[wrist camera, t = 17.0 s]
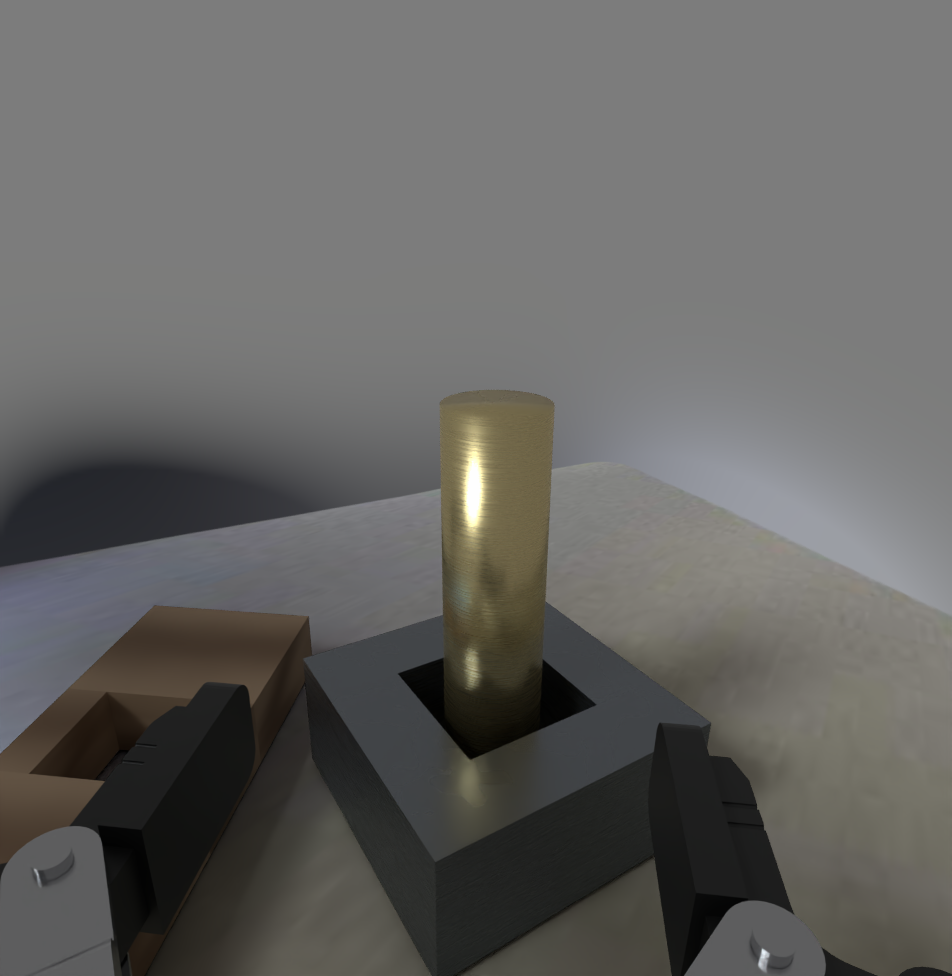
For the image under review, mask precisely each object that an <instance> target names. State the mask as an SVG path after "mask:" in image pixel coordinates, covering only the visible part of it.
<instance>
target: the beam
mask: <svg viewBox="0 0 952 976" xmlns="http://www.w3.org/2000/svg"><path fill="white" fill-rule="evenodd" d="M310 656H312V650H311V639H310V628H309V616H296V615H282V614H268V613H254V612H239V611H225V610H211V609H197V608H183V607H168V606H154V607H153V608H152V609H150V610H149V611H148V612H147V613H146V614H145V615H144V616H143V617H142V618H141V619H140V620H139V621H138V622H137V623H136V624H135V625H134V626H133V627H132V628H131V629H130V630H129V631H128V632H127V633H126V634H124V635H123V636H122V637H121V638H120V639H119V640H118V641H117V642H116V643H115V644H114V645H113V646H112V647H111V648H110V649H109V650H108V651H107V652H106V653H105V654H104V655H103V656H102V657H101V658H99V659H98V660H97V661H96V662H95V663H94V664H93V665H92V666H91V667H90V668H89V669H88V670H87V671H86V672H85V673H84V674H83V675H82V676H81V677H80V678H79V679H78V680H77V681H76V682H75V683H73V684H72V685H71V686H70V687H69V688H68V689H67V690H66V691H65V692H64V693H63V694H62V695H61V696H60V697H59V698H58V699H57V700H56V701H55V702H54V703H53V704H52V705H51V706H50V707H49V708H47V709H46V710H45V711H44V712H43V713H42V714H41V715H40V716H39V717H38V718H37V719H36V720H35V721H34V722H33V723H32V724H31V725H30V726H29V727H28V728H27V729H26V730H25V731H24V732H23V733H21V734H20V735H19V736H18V737H17V738H16V739H15V740H14V741H13V742H12V743H11V744H10V745H9V746H8V747H7V748H6V749H5V750H4V751H3V752H2V753H1V754H0V864H3V863H7V862H9V860H10V859H11V858H12V857H13V855H14V854H15V853H16V852H17V851H18V850H19V849H21V848H22V847H23V846H24V845H26V844H27V843H28V842H30V841H32V840H33V839H35V838H36V837H38V836H40V835H42V834H44V833H47V832H49V831H52V830H55V829H58V828H63V827H69V826H70V824H71V823H72V822H73V821H74V819H75V818H76V817H77V816H78V814H79V813H80V812H81V811H82V809H83V808H84V807H85V806H86V804H87V803H88V802H89V801H90V799H91V798H92V797H93V796H94V794H95V793H96V792H97V791H98V789H99V788H100V787H101V786H102V784H103V783H104V782H105V781H98V780H95V779H96V777H97V776H98V775H99V774H100V772H101V771H102V770H103V769H104V768H105V766H106V765H107V764H108V763H109V762H110V760H111V759H112V758H113V757H114V755H115V754H116V753H117V752H118V751H119V750H130V749H131V748H132V747H135V743H136V742H137V740H138V739H139V738H140V737H141V735H142V734H143V733H144V732H145V730H146V729H147V728H148V727H149V725H150V724H151V723H152V722H153V721H155V720H156V719H158V718H159V717H160V716H162V715H163V714H165V713H166V712H168V711H169V710H170V709H172V708H173V707H175V706H184V707H186V706H187V705H188V704H189V702H190V701H191V700H192V698H193V697H194V696H195V694H196V693H197V692H198V690H199V689H200V688H201V687H202V685H203V684H205V683H206V682H218V683H229V684H241V685H245V686H246V687H247V689H248V691H249V697H250V705H251V713H252V721H253V729H254V738H255V747H256V751H255V760H254V765H253V769H252V772H251V775H250V778H249V780H248V782H247V783H246V785H245V787H244V789H243V791H242V793H241V794H240V796H239V798H238V800H237V802H236V804H235V805H234V807H233V809H232V811H231V813H230V815H229V816H228V818H227V820H226V822H225V824H224V826H223V827H222V829H221V831H220V833H219V835H218V837H217V838H216V840H215V842H214V844H213V846H212V848H211V849H210V851H209V853H208V855H207V857H206V859H205V860H204V862H203V864H202V866H201V868H200V869H199V871H198V873H197V875H196V877H195V879H194V880H193V882H192V884H191V886H190V888H189V890H188V891H187V893H186V895H185V897H184V899H183V901H182V902H181V904H180V906H179V908H178V910H177V912H176V913H175V915H174V917H173V919H172V921H171V923H170V924H169V926H168V928H167V930H166V932H165V934H164V935H160V934H152V933H143V932H139V933H138V935H137V937H136V939H135V940H134V942H133V944H132V946H131V947H130V949H129V951H128V953H129V958H130V963H131V970H132V976H145V974H146V972H147V970H148V968H149V966H150V965H151V963H152V961H153V959H154V957H155V956H156V954H157V952H158V950H159V948H160V946H161V945H162V943H163V941H164V939H165V937H166V935H167V934H168V932H169V930H170V928H171V926H172V924H173V923H174V921H175V919H176V917H177V915H178V913H179V912H180V910H181V908H182V906H183V904H184V902H185V901H186V899H187V897H188V895H189V893H190V891H191V890H192V888H193V886H194V884H195V882H196V881H197V879H198V877H199V875H200V873H201V871H202V870H203V868H204V866H205V864H206V862H207V860H208V859H209V857H210V855H211V853H212V851H213V849H214V848H215V846H216V844H217V842H218V840H219V838H220V837H221V835H222V833H223V831H224V829H225V827H226V826H227V824H228V822H229V820H230V818H231V816H232V815H233V813H234V811H235V809H236V807H237V806H238V804H239V802H240V800H241V798H242V796H243V795H244V793H245V791H246V789H247V787H248V785H249V784H250V782H251V780H252V778H253V776H254V774H255V773H256V771H257V769H258V767H259V765H260V763H261V762H262V760H263V758H264V756H265V754H266V752H267V751H268V749H269V747H270V745H271V743H272V741H273V740H274V738H275V736H276V734H277V732H278V731H279V729H280V727H281V725H282V723H283V721H284V720H285V718H286V716H287V714H288V712H289V710H290V709H291V707H292V705H293V703H294V701H295V699H296V698H297V696H298V694H299V692H300V690H301V688H302V687H303V685H304V683H305V675H304V664H303V658H306V657H310Z"/></svg>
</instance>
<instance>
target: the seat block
mask: <svg viewBox="0 0 952 976" xmlns="http://www.w3.org/2000/svg"><path fill="white" fill-rule="evenodd" d="M303 664H304V675H305V685H306V696H307V707H308V718H309V728H310V739H311V750H312V758H313V760H314V762H315V764H316V766H317V768H318V769H319V771H320V773H321V775H322V777H323V778H324V780H325V782H326V784H327V786H328V788H329V789H330V791H331V793H332V795H333V797H334V799H335V800H336V802H337V804H338V806H339V808H340V809H341V811H342V813H343V815H344V817H345V819H346V820H347V822H348V824H349V826H350V828H351V829H352V831H353V833H354V835H355V837H356V839H357V840H358V842H359V844H360V846H361V848H362V850H363V851H364V853H365V855H366V857H367V859H368V860H369V862H370V864H371V866H372V868H373V870H374V871H375V873H376V875H377V877H378V879H379V880H380V882H381V884H382V886H383V888H384V890H385V891H386V893H387V895H388V897H389V899H390V901H391V902H392V904H393V906H394V908H395V910H396V911H397V913H398V915H399V917H400V919H401V921H402V922H403V924H404V926H405V928H406V930H407V931H408V933H409V935H410V937H411V939H412V941H413V942H414V944H415V946H416V948H417V950H418V951H419V953H420V955H421V957H422V959H423V961H424V962H425V964H426V966H427V968H428V970H429V972H430V973H431V975H432V976H453V975H455V974H456V973H458V972H460V971H461V970H463V969H465V968H466V967H468V966H470V965H471V964H473V963H475V962H476V961H478V960H480V959H481V958H483V957H484V956H486V955H488V954H489V953H491V952H493V951H494V950H496V949H498V948H499V947H501V946H503V945H504V944H506V943H508V942H509V941H511V940H513V939H514V938H516V937H518V936H519V935H521V934H523V933H524V932H526V931H528V930H529V929H531V928H532V927H534V926H536V925H537V924H539V923H541V922H542V921H544V920H546V919H547V918H549V917H551V916H552V915H554V914H556V913H557V912H559V911H561V910H562V909H564V908H566V907H567V906H569V905H571V904H572V903H574V902H576V901H577V900H579V899H581V898H582V897H584V896H585V895H587V894H589V893H590V892H592V891H594V890H595V889H597V888H599V887H600V886H602V885H604V884H605V883H607V882H609V881H610V880H612V879H614V878H615V877H617V876H619V875H620V874H622V873H624V872H625V871H627V870H629V869H630V868H632V867H633V866H635V865H637V864H638V863H640V862H642V861H643V860H645V859H647V858H648V857H650V856H652V855H653V854H654V850H653V843H652V836H651V830H650V823H649V812H648V792H649V782H650V774H651V767H652V760H653V753H654V746H655V739H656V732H657V727H658V724H659V723H660V722H661V723H673V724H684V725H696V726H700V727H701V729H702V732H703V735H704V739H705V743H706V746H707V744H708V738H709V732H710V726H711V722H709V721H708V720H706V719H705V718H704V717H702V716H701V715H700V714H698V713H697V712H696V711H694V710H693V709H691V708H690V707H689V706H687V705H686V704H685V703H683V702H682V701H681V700H679V699H678V698H676V697H675V696H674V695H672V694H671V693H670V692H668V691H667V690H666V689H664V688H663V687H661V686H660V685H659V684H657V683H656V682H655V681H653V680H652V679H651V678H649V677H648V676H646V675H645V674H644V673H642V672H641V671H640V670H638V669H637V668H636V667H634V666H633V665H631V664H630V663H629V662H627V661H626V660H625V659H623V658H622V657H621V656H619V655H618V654H616V653H615V652H614V651H612V650H611V649H610V648H608V647H607V646H606V645H604V644H603V643H601V642H600V641H599V640H597V639H596V638H595V637H593V636H592V635H591V634H589V633H588V632H586V631H585V630H584V629H582V628H581V627H580V626H578V625H577V624H576V623H574V622H573V621H571V620H570V619H569V618H567V617H566V616H565V615H563V614H562V613H561V612H559V611H558V610H556V609H555V608H554V607H552V606H551V605H550V604H548V603H547V602H546V601H545V619H544V640H543V662H542V683H541V704H540V726H539V730H538V731H536V732H534V733H531V734H529V735H527V736H525V737H522V738H520V739H518V740H515V741H513V742H511V743H509V744H506V745H504V746H502V747H499V748H497V749H495V750H492V751H490V752H488V753H486V754H483V755H481V756H479V757H476V758H474V759H472V760H469V759H468V758H467V756H466V755H465V754H464V753H463V752H462V750H461V749H460V748H459V747H458V746H457V744H456V743H455V742H454V741H453V740H452V738H451V737H450V736H449V735H448V734H447V732H446V731H445V718H444V651H443V615H442V616H439V617H435V618H432V619H429V620H426V621H423V622H419V623H416V624H413V625H410V626H406V627H403V628H400V629H397V630H394V631H390V632H387V633H384V634H381V635H377V636H374V637H371V638H368V639H364V640H361V641H358V642H355V643H352V644H348V645H345V646H342V647H339V648H335V649H332V650H329V651H326V652H323V653H319V654H316V655H313V656H310V657H306V658H303Z"/></svg>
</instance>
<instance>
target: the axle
mask: <svg viewBox="0 0 952 976" xmlns="http://www.w3.org/2000/svg"><path fill="white" fill-rule="evenodd" d="M553 426H554V403H553V401H551V400H550V399H548V398H546V397H543V396H540V395H537V394H532V393H527V392H520V391H509V390H479V391H469V392H463V393H458V394H454V395H451V396H448V397H446V398H444V399H443V400H442V401H441V402H440V447H441V448H440V450H441V518H442V584H443V651H444V718H445V731H446V732H447V734H448V735H449V736H450V737H451V738H452V740H453V741H454V742H455V743H456V744H457V746H458V747H459V748H460V749H461V750H462V752H463V753H464V754H465V755H466V756H467V758H468V759H469V760H472V759H474V758H476V757H479V756H481V755H483V754H486V753H488V752H490V751H492V750H495V749H497V748H499V747H502V746H504V745H506V744H509V743H511V742H513V741H515V740H518V739H520V738H522V737H525V736H527V735H529V734H531V733H534V732H536V731H538V730H539V726H540V704H541V683H542V662H543V640H544V619H545V598H546V577H547V555H548V534H549V513H550V491H551V470H552V449H553Z"/></svg>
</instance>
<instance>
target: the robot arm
mask: <svg viewBox="0 0 952 976" xmlns="http://www.w3.org/2000/svg"><path fill="white" fill-rule="evenodd" d="M255 751H256V747H255V738H254V729H253V721H252V713H251V705H250V697H249V691H248V689H247V687H246V686H245V685H241V684H229V683H218V682H206V683H205V684H203V685H202V687H201V688H200V689H199V690H198V692H197V693H196V694H195V696H194V697H193V698H192V700H191V701H190V702H189V704H188V705H187V706H186V707H184V706H175V707H173V708H172V709H170V710H169V711H168V712H166V713H165V714H163V715H162V716H160V717H159V718H158V719H156V720H155V721H153V722H152V723H151V724H150V725H149V727H148V728H147V729H146V730H145V732H144V733H143V734H142V735H141V737H140V738H139V739H138V740H137V742H136V743H135V747H132V748H131V749H130V750H129V752H128V753H127V754H126V755H125V757H124V758H123V759H122V763H121V764H118V765H117V767H116V768H115V769H114V770H113V772H112V773H111V774H110V776H109V777H108V778H107V779H106V781H105V782H104V783H103V784H102V786H101V787H100V788H99V789H98V791H97V792H96V793H95V794H94V796H93V797H92V798H91V799H90V801H89V802H88V803H87V804H86V806H85V807H84V808H83V809H82V811H81V812H80V813H79V814H78V816H77V817H76V818H75V819H74V821H73V822H72V823H71V824H70V826H69V827H63V828H58V829H55V830H52V831H49V832H47V833H44V834H42V835H40V836H38V837H36V838H35V839H33V840H32V841H30V842H28V843H27V844H26V845H24V846H23V847H22V848H21V849H19V850H18V851H17V852H16V853H15V854H14V855H13V857H12V858H11V859H10V860H9V862H7V863H3V864H0V976H132V970H131V963H130V958H129V953H128V951H129V949H130V947H131V946H132V944H133V942H134V940H135V939H136V937H137V935H138V933H139V932H143V933H152V934H160V935H164V934H165V932H166V930H167V928H168V926H169V924H170V923H171V921H172V919H173V917H174V915H175V913H176V912H177V910H178V908H179V906H180V904H181V902H182V901H183V899H184V897H185V895H186V893H187V891H188V890H189V888H190V886H191V884H192V882H193V880H194V879H195V877H196V875H197V873H198V871H199V869H200V868H201V866H202V864H203V862H204V860H205V859H206V857H207V855H208V853H209V851H210V849H211V848H212V846H213V844H214V842H215V840H216V838H217V837H218V835H219V833H220V831H221V829H222V827H223V826H224V824H225V822H226V820H227V818H228V816H229V815H230V813H231V811H232V809H233V807H234V805H235V804H236V802H237V800H238V798H239V796H240V794H241V793H242V791H243V789H244V787H245V785H246V783H247V782H248V780H249V778H250V775H251V772H252V769H253V765H254V760H255ZM648 812H649V823H650V830H651V836H652V843H653V850H654V857H655V864H656V870H657V877H658V884H659V891H660V897H661V904H662V911H663V918H664V925H665V931H666V938H667V945H668V952H669V959H670V965H671V972H672V976H877V975H874V974H872V973H869V972H867V971H864V970H862V969H859V968H857V967H855V966H852V965H850V964H848V963H846V962H844V961H841V960H840V959H838V958H836V957H835V956H833V955H831V954H830V953H829V952H827V951H826V950H824V949H823V948H822V947H821V946H820V943H819V941H818V940H817V938H816V937H815V935H814V934H813V932H812V931H811V930H810V929H809V928H808V927H807V925H806V924H804V923H803V922H802V921H801V920H800V919H799V918H798V917H796V916H795V915H794V913H793V910H792V908H791V905H790V902H789V899H788V896H787V893H786V890H785V887H784V884H783V881H782V878H781V875H780V872H779V869H778V866H777V863H776V860H775V857H774V854H773V851H772V848H771V845H770V842H769V839H768V836H767V833H766V831H765V830H764V824H763V821H762V818H761V815H760V812H759V810H757V803H756V800H755V797H754V794H753V791H752V788H751V785H750V782H749V780H748V778H747V777H746V776H745V775H744V774H743V773H742V771H741V770H740V769H739V768H738V767H737V765H736V764H735V763H734V762H733V761H732V759H731V758H729V757H718V756H709V753H708V750H707V746H706V743H705V739H704V735H703V732H702V729H701V727H700V726H696V725H684V724H673V723H661V722H660V723H659V724H658V727H657V732H656V739H655V746H654V753H653V760H652V767H651V774H650V782H649V792H648ZM899 976H952V974H950V973H947V972H945V971H942V970H939V969H935V968H929V967H914V968H911V969H907V970H905V971H904V972H902V973H901V974H900V975H899Z"/></svg>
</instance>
